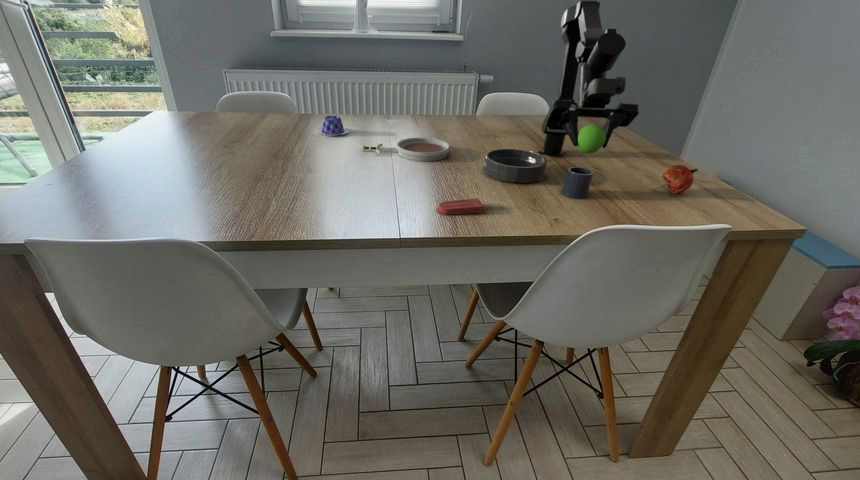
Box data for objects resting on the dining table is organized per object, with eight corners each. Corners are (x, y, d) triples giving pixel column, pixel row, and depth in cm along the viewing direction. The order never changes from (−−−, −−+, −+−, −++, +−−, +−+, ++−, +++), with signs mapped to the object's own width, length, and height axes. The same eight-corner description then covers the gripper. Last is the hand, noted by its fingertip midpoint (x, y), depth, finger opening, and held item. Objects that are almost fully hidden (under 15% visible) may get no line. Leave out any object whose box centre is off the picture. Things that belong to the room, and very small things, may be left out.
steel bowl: (498, 160, 123) (500, 145, 120) (551, 172, 115) (555, 156, 112) (473, 174, 112) (475, 158, 110) (529, 189, 104) (533, 172, 102)
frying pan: (364, 135, 134) (449, 137, 132) (364, 144, 136) (448, 146, 134) (356, 151, 120) (452, 153, 118) (357, 161, 122) (451, 163, 120)
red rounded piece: (660, 205, 102) (707, 187, 97) (649, 179, 101) (696, 159, 96) (656, 198, 108) (700, 180, 103) (645, 173, 107) (689, 154, 102)
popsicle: (506, 204, 92) (442, 209, 89) (504, 211, 93) (441, 216, 90) (498, 196, 95) (436, 201, 93) (496, 203, 96) (435, 208, 94)
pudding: (348, 137, 140) (347, 121, 137) (313, 136, 140) (312, 120, 137) (351, 128, 150) (350, 113, 147) (318, 127, 150) (317, 112, 147)
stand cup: (565, 187, 105) (572, 165, 102) (589, 193, 103) (596, 170, 99) (558, 194, 102) (564, 171, 98) (582, 200, 99) (589, 176, 95)
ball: (576, 146, 100) (584, 119, 96) (603, 152, 97) (612, 124, 93) (568, 153, 96) (575, 124, 92) (596, 158, 92) (605, 129, 89)
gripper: (562, 60, 90) (558, 124, 87) (652, 63, 87) (651, 129, 85) (548, 92, 101) (544, 150, 98) (628, 96, 98) (626, 155, 96)
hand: (589, 146), depth 94 cm, fingers closed on ball, 6 cm apart
